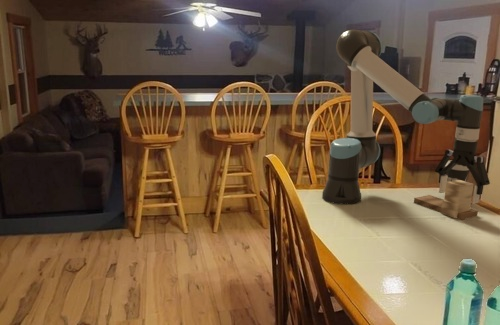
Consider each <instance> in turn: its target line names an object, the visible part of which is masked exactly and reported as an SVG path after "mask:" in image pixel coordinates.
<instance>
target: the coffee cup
mask: <svg viewBox="0 0 500 325" xmlns="http://www.w3.org/2000/svg"><path fill="white" fill-rule="evenodd" d="M452 160H453V159H451V160H450V159H449V161H448V162H447V164H446V165H445V167H446V166H447V165H448V164H449V163H450V161H452ZM445 167H444V168H445ZM469 172H470V170H469V169H468V168H467V166H462V165H457V164H456V165H455V166H454V167H453V168H452V169H451V170H450V171H448V172H447V173H446V174H445V175H448V176H447V182H449V181H455V180H462V181H465V182H468V176H469Z"/></svg>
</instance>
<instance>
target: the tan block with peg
mask: <svg viewBox="0 0 500 325" xmlns="http://www.w3.org/2000/svg"><path fill="white" fill-rule="evenodd" d="M474 186H475V184H474V183H472V182H469V181H467V182H465V181H462V180H455V181H449V182H447V183H446V190H445V192H444V200H443V201H442V209H441V212H440V214H442V215H446V216H448V217H451V218H454V219H458V218H457V215H458V213H461V212H465V211H469V210H470V208H471V205H472V200H473V193H474Z"/></svg>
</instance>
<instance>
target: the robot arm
mask: <svg viewBox="0 0 500 325" xmlns="http://www.w3.org/2000/svg"><path fill="white" fill-rule="evenodd" d="M335 48H336V49H335V50H336V53H337V55H338V56H339V58H340V59H341V60H342V61H343V62H344V63H346V64H347V65H346V66H347V68H348V70H350V77H351V78H350V131H349V132H347V134H346V137H342V138H337V139H333V141H332V142H331V143H330V146H329V147H330V148H329V157H328V171H327V172H328V175H327V180H326V182H325V186H324V189H323V190H322V193H321V194H322V196H321V198H322V199H323V200H324V201H326V202H329V203H332V204H338V205H357V204H359V203H361V202H362V192H361V188H360V184H359V175H360V174H359V173H360V169H363V168H366V167H370V166H372V165H373V164H375V163H376V162H377V160H378V159H379V157H380V155H381V147H380V144H379V142H378V141H377V134H376V133H375V132H374V130H373V119H374V118H373V117H374V115H373V113H374V110H373V108H374V107H373V106H374V99H373V98H374V84H376V85H377V86H378V87H380V89H381V90H383V91H384V92H385V93H386V94H388V95H389V96H390V97H391V98H393V100H395V101H397V102H398V103H399V104H400V105H401V106H403V108H404V109H406V110H408V111H409V113H411V115H412V118H413V120H414V121H415V122H416V123H418V124H422V125H427V124H432V123H434V122H439V121H447V122H449V121H451V122H456V128H455V134H454V137H455V139H454V142H453V149H446V150H445V152H444V155H443V156H442V158H441V160H440V162H439V163H438V165H437V166H436V168H435V170H434V171H435V173H437V174H438V175H439V176H438V183H439V189H438V193H439V194H442V193H443V194H445V190H446V183H447V176H448V175H446V173H447V172H448V171H450V170H451V169H452V168H453V167H454V166H455V165H456V164H457V165H462V166H467V168H468V169H469V172H470V174H471V177H473V180H474V181H475V183H476V184H474V186H473V193H472V199H471V204H479V203H480V199H481V198H480V197H481V195H482V194H483V192H484V186H487V185H488V186H489V185H490V184H491V182H490V179H489V175H488V172H487V169H486V164H485V157H484V156H483V155H482V156H477V154H476V153H477V150H478V146H479V145H478V144H479V142H478V140H479V137H480V129H481V122H482V118H483V117H482V116H483V111H484V98H483V97H484V96H481V95H478V94H477V95H476V94H461V95H460V97H459V99H449V98H447V99H446V98H438V97H429V96H428V95H426V94H425V92H423V91H421V90H420V89H419V88H418V87H416V86H415V85H414V84H413V83H412V82H411V81H409V80H408V79H407V78H405V77H404V76H403V75H402V74H400V73H399V72H397V70H395V69H394V68H393V67H391V66H390V65H389V64H387V63H386V62H385V61H384V60H383V59H382V58H380V56H381V54H382V52H383V42H382V39H381V37H379V35H378V34H377V33H374V32H372V31H370V30H362V29H361V30H360V29H359V30H358V29H349V30H346V31H344V32H342V34H341V35H339V37H338V39H337V42H336V46H335ZM452 157H453V159H451V158H452ZM450 159H451V160H452V161H450V163H449V164H448V165H447V166H446V167H445V165H446V164H447V162H448V161H449V160H450Z"/></svg>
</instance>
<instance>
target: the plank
mask: <svg viewBox="0 0 500 325" xmlns="http://www.w3.org/2000/svg"><path fill="white" fill-rule="evenodd" d="M443 200H444V199H443V198H441V197H437V196H434V195H432V194H426V195H423V196H417V197H414V199H413V204H416V205H419V206H422V207H424V208H427V209H430V210H433V211H435V212H439V213H441V209H442V201H443ZM478 212H479V210H477V209H474V208H471V207H470V210H469V211H465V212H461V213H458V215H457V218H456V219H458V220H462V221H463V220H467V219H471V218H475V217H478Z"/></svg>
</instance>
